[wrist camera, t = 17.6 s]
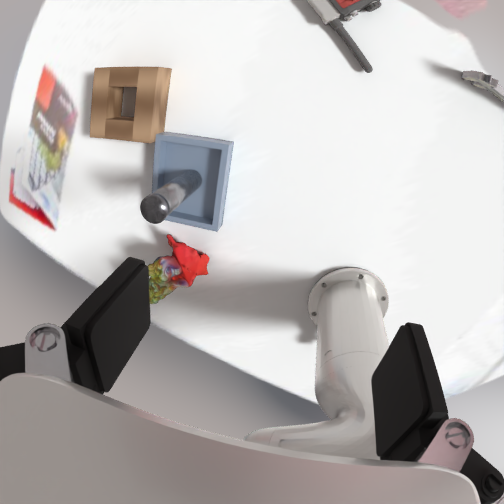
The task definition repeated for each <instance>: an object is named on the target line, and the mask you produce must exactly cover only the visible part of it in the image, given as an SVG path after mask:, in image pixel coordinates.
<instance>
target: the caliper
mask: <svg viewBox="0 0 504 504" xmlns="http://www.w3.org/2000/svg"><path fill="white" fill-rule="evenodd" d="M462 79H464V80H470V81H472V82H471V84H472V85H474V86H476V87H480V88H483V89H486V90H489V91H490V92H492V94H493V95H494V96H496V97H497V98H499V99H500V100H501V101H502V102H504V88H503V87H502V86H500V85H499V84H498V80H495V79H493V78H492V76H491V75H486V74H484V73H483V72H477V71H463V74H462Z"/></svg>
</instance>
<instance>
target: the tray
mask: <svg viewBox="0 0 504 504" xmlns="http://www.w3.org/2000/svg"><path fill="white" fill-rule="evenodd" d="M233 145H234V142H232V141H226V140H220V139H213V138H207V137H200V136H193V135H186V134H178V133H171V132H161V133H158V134H156V139H155V152H154V167H153V184H152V193H154V192H155V191H157V190H158V189H159V188H161V187H162V186H164V185H165V184H167V183H168V182H170V181H171V180H173V179H174V178H176V177H177V176H179V175H180V174H182V173H184V172H185V171H187V170H190V169H193V170H196V171H198V172H199V173H200V175H201V177H202V184H201V186H200V188H198V189H197V190H196V191H195V192H194V193H193V194H192V195H190V196H189V197H188V198H187V199H186V200H185V201H184V202H183V203H181V204H180V205H179V206H178V207H177V208H176V209H175V210H174V211H172V212H171V213H170V214H169V215H168V216H167V218H165V219H164V220H167V221H172V222H176V223H181V224H185V225H190V226H194V227H199V228H203V229H207V230H212V231H216V232H217V231H218V230H219V229H220V227H221V226H222V222H223V214H224V207H225V200H226V193H227V185H228V178H229V172H230V165H231V158H232V151H233Z"/></svg>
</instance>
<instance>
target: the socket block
mask: <svg viewBox="0 0 504 504" xmlns="http://www.w3.org/2000/svg"><path fill="white" fill-rule="evenodd" d="M171 70H172V69H170V68H162V67H105V68H95V72H94V81H93V92H92V105H91V122H90V137H95V138H106V139H116V140H126V141H135V142H143V143H152V142H155V139H156V134H158V133H161V132H164V127H165V117H166V108H167V100H168V92H169V84H170V77H171ZM124 87H137V92H136V102H135V113H134V117H126V116H121V112H122V100H123V90H124Z"/></svg>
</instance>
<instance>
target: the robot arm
mask: <svg viewBox="0 0 504 504" xmlns="http://www.w3.org/2000/svg"><path fill="white" fill-rule="evenodd" d="M360 274H361V275H360ZM388 303H389V299H388V293H387V290H386V288H385V285H384V284H383V282H382V281H381V280H380V279H379V278H378V277H377V276H376V275H374V274H373V273H371V272H369V271H366V270H363V269H359V268H343V269H339V270H335V271H333V272H331V273H328V274H327V275H325V276H324V277H322V278H321V279H320V280H319V281H318V282H317V283H316V284H315V285H314V287H313V288H312V290H311V292H310V295H309V300H308V311H309V315H310V317H311V320H312V321H313V322H314V324H315V325H316V326H317V353H316V373H315V395H316V399H317V401H318V403H319V405H320V407H321V408H322V410H323V411H324V413H325V414H326V415H327V416H328V417H329V418H330V419H331V420H329V421H323V422H319V423H312V424H303V425H294V426H283V427H271V428H263V429H259V430H256V431H253V432H251V433H250V434H248V435H247V436H246V437H245V438H244V439H243V440H240V439H236V438H231V437H227V436H223V435H220V434H216V433H212V432H209V431H205V430H202V429H198V428H194V427H191V426H187V425H185V424H181V423H178V422H175V421H172V420H169V419H166V418H163V417H160V416H157V415H154V414H152V413H149V412H146V411H143V410H141V409H138V408H135V407H133V406H130V405H127V404H124V403H122V402H119V401H117V400H114V399H112V398H110V397H107V396H105V395H103V393H104V392H109V391H110V389H111V388H112V386H113V384H114V383H115V381H116V379H117V378H118V376H119V375H120V373H121V371H122V370H123V368H124V367H125V365H126V363H127V362H128V360H129V359H130V357H131V356H132V354H133V352H134V351H135V349H136V348H137V346H138V345H139V343H140V341H141V340H142V338H143V337H144V335H145V334H146V332H147V330H148V329H149V326H150V300H149V268H148V266H146V265H145V262H144V261H143V260H139V259H136V258H132V257H129V258H127V259H126V260H125V261H124V262H123V263H122V264H121V265H120V266H119V267H118V268H117V269H116V270H115V271H114V272H113V273H112V274H111V275H110V276H109V277H108V278H107V279H106V280H105V281H104V282H103V284H102V285H100V286H99V287H98V288H97V289H96V290H95V291H94V292H93V293H92V294H91V295H90V296H89V297H88V298H87V299H86V300H85V301H84V302H83V304H82V305H81V306H80V307H79V308H78V309H77V310H76V311H75V312H74V313H73V314H72V316H71V317H70V318H69V319H68V320H67V321H66V322H65V323H64V324H63V325H62V327H61V328H60V327H59V326H57V325H55V324H50V323H47V324H41V325H38V326H36V327H34V328H33V329H31V330H30V331H29V333H28V334H27V336H26V340H25V343H20V344H15V345H10V346H5V347H0V504H504V495H503V493H504V478H503V476H502V474H501V473H500V472H499V471H498V470H497V469H496V468H494V467H493V466H492V465H491V464H490V463H489V462H488V461H486V460H485V459H484V458H483V457H482V456H481V455H480V454H478V453H477V452H476V451H475V450H474V449H473V448H472V446H473V443H474V436H473V432H472V430H471V429H470V427H469V425H467V424H466V423H465V422H464V421H462V420H460V419H457V418H451V419H449V417H448V410H447V406H446V402H445V398H444V394H443V390H442V387H441V383H440V380H439V376H438V373H437V369H436V366H435V363H434V359H433V356H432V353H431V350H430V347H429V344H428V341H427V338H426V335H425V332H424V329H423V326H422V325H419V324H414V323H409V322H408V323H406V324H405V326H404V325H402V326H401V327H400V328H399V330H398V332H397V334H396V335H395V337H394V339H393V341H392V342H391V344H390V346H389V343H388V338H387V334H386V329H385V324H384V320H383V318H384V316H385V314H386V312H387V309H388Z"/></svg>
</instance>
